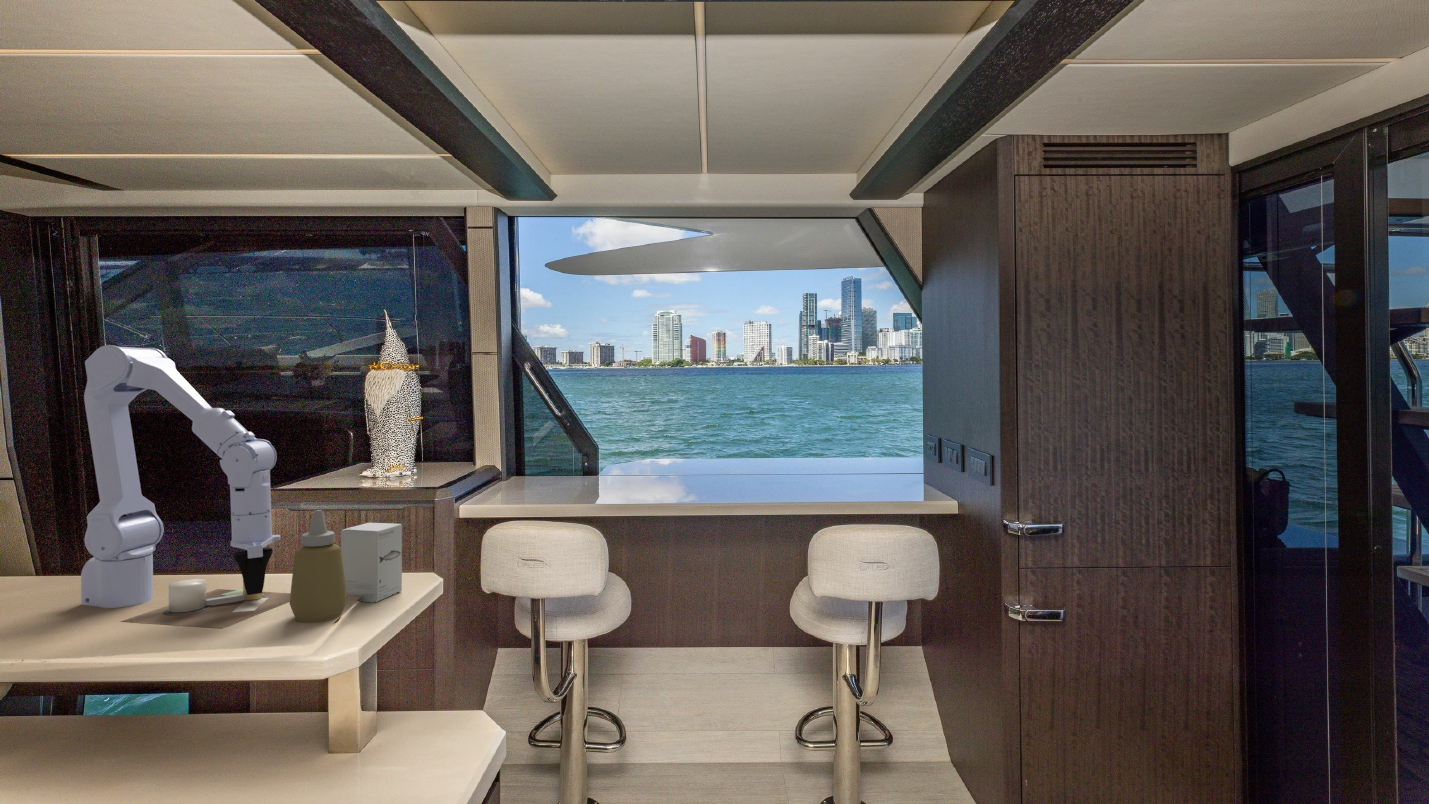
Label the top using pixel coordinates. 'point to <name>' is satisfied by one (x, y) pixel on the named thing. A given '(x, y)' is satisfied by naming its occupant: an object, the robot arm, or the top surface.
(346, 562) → the supplement box
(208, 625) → the brown flat square board
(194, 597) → the peg lever
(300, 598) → the squeeze bottle
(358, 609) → the top surface
